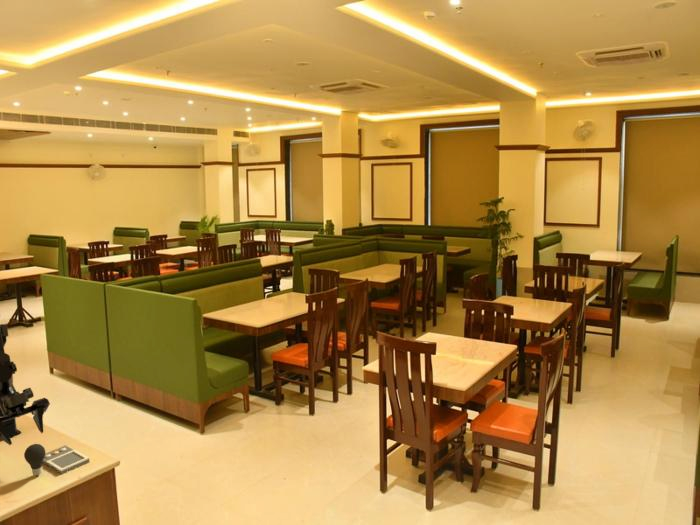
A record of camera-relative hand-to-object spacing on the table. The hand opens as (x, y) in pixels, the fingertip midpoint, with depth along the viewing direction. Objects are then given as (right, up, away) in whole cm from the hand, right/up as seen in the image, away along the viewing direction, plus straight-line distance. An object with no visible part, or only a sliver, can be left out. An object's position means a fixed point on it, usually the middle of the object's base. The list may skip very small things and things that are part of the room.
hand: (27, 438), depth 175 cm
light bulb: (+3, -11, 0) cm, 12 cm away
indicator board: (+7, -10, +8) cm, 14 cm away
